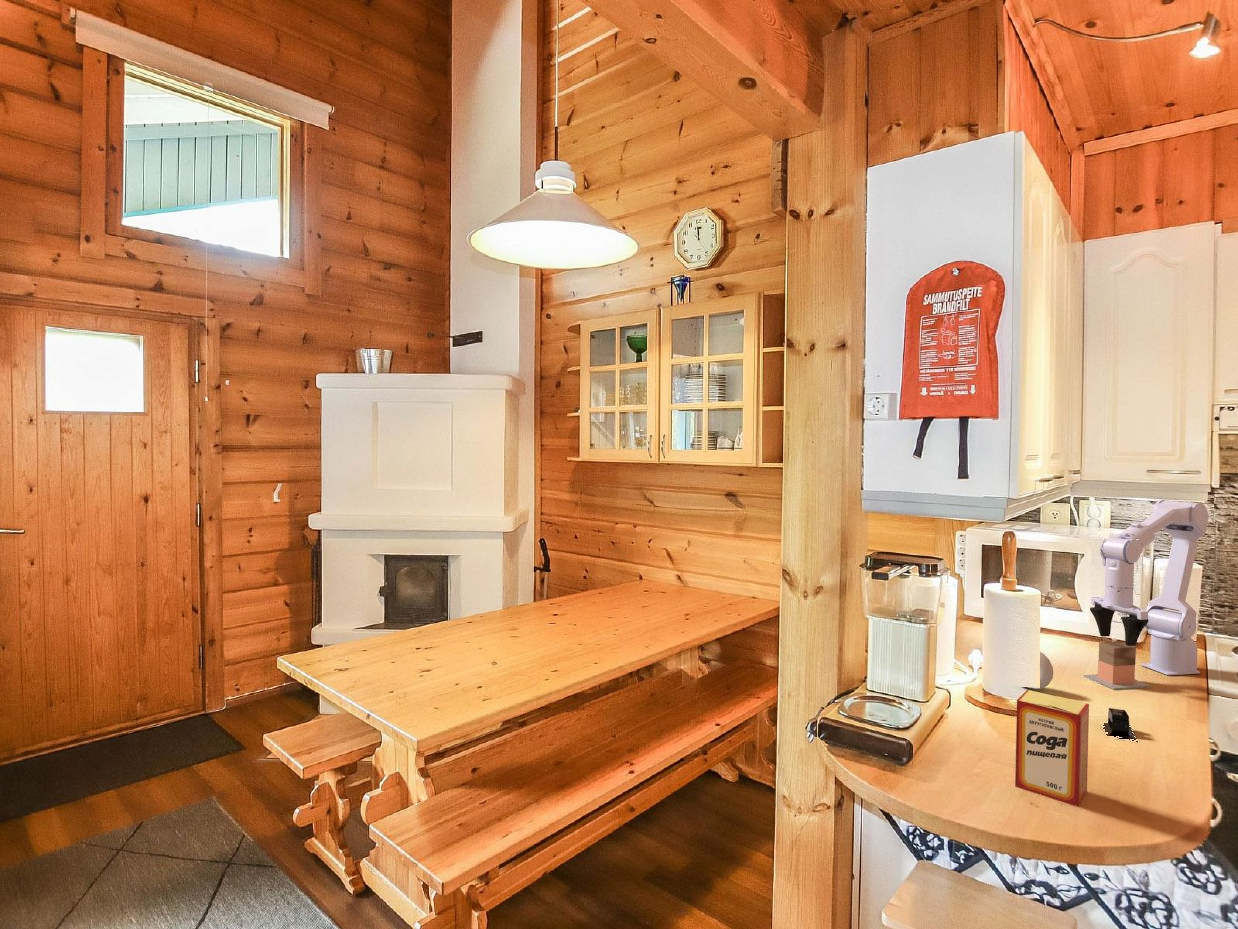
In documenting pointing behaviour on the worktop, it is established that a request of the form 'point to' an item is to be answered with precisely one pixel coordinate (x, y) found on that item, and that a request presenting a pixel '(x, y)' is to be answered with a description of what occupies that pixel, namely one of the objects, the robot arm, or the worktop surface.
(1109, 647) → the walnut block
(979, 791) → the worktop surface
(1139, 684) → the baseplate
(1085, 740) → the baking soda box
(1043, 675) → the grey rounded piece
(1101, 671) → the terracotta block
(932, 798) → the worktop surface
